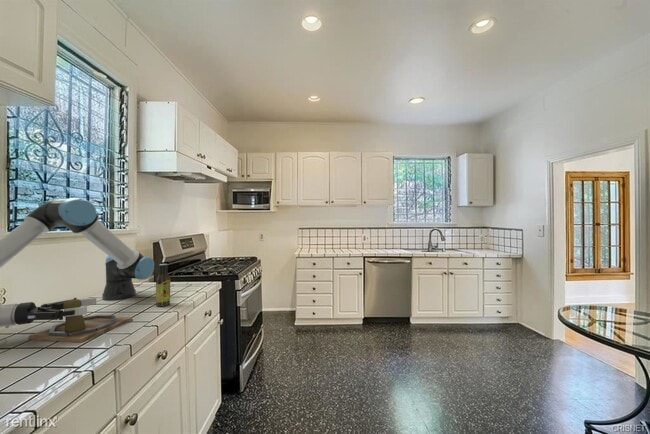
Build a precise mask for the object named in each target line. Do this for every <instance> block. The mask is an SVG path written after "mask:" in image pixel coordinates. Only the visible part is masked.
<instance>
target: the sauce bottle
mask: <svg viewBox="0 0 650 434" xmlns="http://www.w3.org/2000/svg"><path fill="white" fill-rule="evenodd" d="M168 267H169V264H168V263H160V264H158V275H157V277H156V279H155V306H156V307H166V306H169V305H170V304H171V277H170V275H169V273H168V269H169V268H168Z"/></svg>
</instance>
